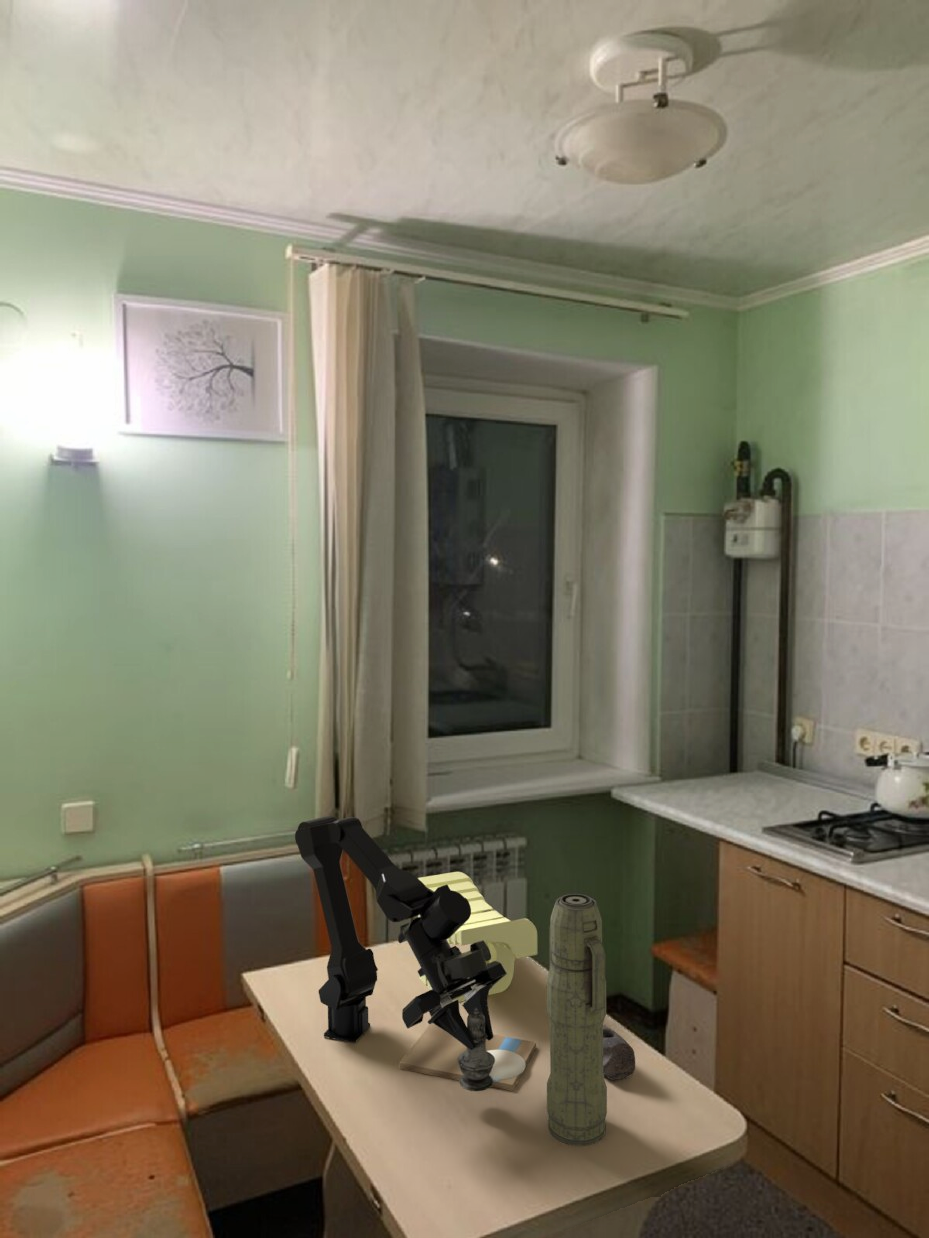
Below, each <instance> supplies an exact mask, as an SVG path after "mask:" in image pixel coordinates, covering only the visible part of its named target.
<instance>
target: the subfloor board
mask: <svg viewBox="0 0 929 1238" xmlns="http://www.w3.org/2000/svg"><path fill="white" fill-rule="evenodd" d="M466 1049H467V1047H466V1046H465V1045H463V1044H462V1043H461V1042H460V1041H458V1040H457V1039H456V1038H454V1037H453V1036H452V1035H450V1034H449V1033H448V1032H446V1031H444V1030H443V1029H441V1028H440V1027H438V1026H437V1025H435V1024H433V1023H432V1024H428V1027H426V1029H425V1030H424V1031H423V1033H422V1034H421V1035H420V1036H419V1038H418V1039H417V1040H416V1041H415V1042H414V1043H413V1045H412V1046H411V1048H410V1049H408V1051H407V1053H406V1054H405V1055H404V1056H403V1058H402V1059H401V1060H400V1061H399V1066H398V1067H399V1069H400V1070H406V1071H410V1072H416V1073H421V1074H426V1075H430V1076H435V1077H440V1078H446V1079H451V1080H455V1081H459V1080H460V1078H461V1076H462V1075H463V1073H462V1072H461V1069H460V1066H459V1064H458V1061H457V1059H458V1056H459V1055H460V1054H461V1053H463V1052H465V1051H466ZM536 1049H537V1042H536V1041H532V1040H526V1039H521V1038H515V1037H510V1036H504V1035H503V1036H502V1035H498V1034H493V1038H492V1039H491V1040H487V1039H486V1051H487V1052H489V1053H491V1054H492V1055H493V1056H494V1058H495V1063H494V1064H493V1068H492V1070H491V1073H490V1074H489V1075H490V1076H491V1077H492V1079H493V1084H492V1086H491V1087H492V1088H497V1089H501V1090H507V1091H514V1089H515V1087H516V1085H517V1084H518V1082H519V1080H520V1079H521V1076H522V1074H523V1072H524V1071H525V1069H526V1067H527V1065H528V1064H529V1062H530V1060H531V1058H532V1056H533V1054H534V1052H535V1051H536ZM491 1087H490V1088H491Z"/></svg>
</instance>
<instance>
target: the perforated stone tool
mask: <svg viewBox="0 0 929 1238" xmlns="http://www.w3.org/2000/svg"><path fill="white" fill-rule="evenodd" d="M634 1050H635V1049H633V1047H632V1046H631V1045H630V1044H629V1043H628V1041H626V1040H625V1039H624V1038H623V1037H622V1036H621V1035H620V1034H619V1033H618V1032H616V1031H615V1030H613V1029H611V1028H610V1027H608V1026H607V1025H605V1024H603V1075H605V1076H606V1077H607V1078H608V1079H610V1080H614V1081H615V1080H619V1079H628V1078H629V1077H630V1076H632V1075H633V1074H634V1073H635V1070H636V1055H635V1051H634Z"/></svg>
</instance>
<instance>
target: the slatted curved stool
mask: <svg viewBox="0 0 929 1238" xmlns="http://www.w3.org/2000/svg"><path fill="white" fill-rule="evenodd" d="M417 878H418V879H419V880H420V881H421V882H422V883H423V884H424V885H425V886H426V887H427V888H429V889H431V890H432V891H434V892H435V890H436V889H437V888H438V887H441V886H444V885H448V886H449V888H450V890H452V891H456V892H458V893H460V894H461V895H462V896H463V897H464V898H466V899H467V900H468V902H469V904H470V907H471V915H470V918H469V919H468V920H467V921H466V922H465V923H464V924H463V925H462V926H461V927H460V928H459V929H458V930H457V931H456V932H455V933H454V934H453V935H452V936H451V937H450V938H448V939H447V941H448V943H449V945H454V946H457V945H460V946H466V945H471V944H473V943H475V942H478V941H482V940H483V941H484V942H485V943H486V945H487V946H488V948H489V950H490V953H491V959H490V960H489V961H486V964H489V963H491V962H493V961H497V962H499V963H501V964H502V966H503V968H504V969H505V971H506V973H507V974H506V975H505V976H504V977H503V978H501V979H500V980H499V981H498V982H497V983H496V984H495V985H494V986H492V988H491V989H490V990H489V993H488V996H491V995H495V994H498V993H499V994H500V993H503V992H504V991H506V990H507V989H508V988H509V987H510V984H511V982H512V980H513V977H514V972H515V971H514V970H515V961H516V960H515V959H522V958H527V957H532V956H537V955H538V931H537V927H536V925H534V923H533V922H532V921H530V919H528V918H520V919H514V920H511V919H508V918H507V917H504V916H503V915H502V914H501V913H499V912H498V911H497V910H495V909H494V908H493V907H492V906H491V905H490V904H488V903H487V901H486V900H485V897H484V896H483V895H482V894H481V893H480V890H479V889H478V887H477V886H476V885H475V884H474V881H473V880H472V878H471V877H470V876H468V875H467V874H466V873H464V872H461V871H453V872H447V873H440V874H436V875H428V876H422V877H421V876H420V877H417ZM418 917H420V915H417V918H418ZM418 978H419V980H420V981H421V982H422V983H423V984H424V985H425V986H427V988H428V989H429V990H433V989H432V987H431V985H430V984H429V982H428V980H427V978H426V976H425V975H424V976H422V977H420V975H418ZM469 978H470V977H469ZM456 1000H459V1003H460V1002H464V1001H465V1002H466V999H465V997H464V996H460V997H458V998H456V999H454V1000H452V1002H454V1001H456Z"/></svg>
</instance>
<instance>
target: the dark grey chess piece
mask: <svg viewBox="0 0 929 1238" xmlns="http://www.w3.org/2000/svg"><path fill="white" fill-rule="evenodd" d="M466 1026H467V1028H468V1030H469V1032H470V1034H471V1036H472V1038H473V1041H474V1043H475V1046H476V1047H475V1048H474V1049H473V1050H470V1049H469V1048H467V1049H466V1051H465V1052H463V1053H461V1054H460V1055H459V1056H458V1059H457V1061H458V1064H459V1066H460V1069H461V1072H462V1073H463V1075H462V1076H461V1078H460V1080H458V1081H459V1085H460V1087H461V1088H463V1089H464V1090H466V1091H469V1092H483V1091H486V1090H488V1089H489V1088H491V1086H492V1084H493V1079H492V1077H491V1076H490V1075H489V1074H490V1073H491V1070H492V1068H493V1064H494V1063H495V1058H494V1056H493V1055H492V1054H491V1053H489V1052H487V1051H486V1039H487V1037H488V1036H487V1034H486V1033H485V1017H484V1015H483V1014H482V1013H481V1012H478V1009H477V1007H475V1009H474V1012H471V1013H470V1014H468V1015H467V1018H466Z"/></svg>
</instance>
